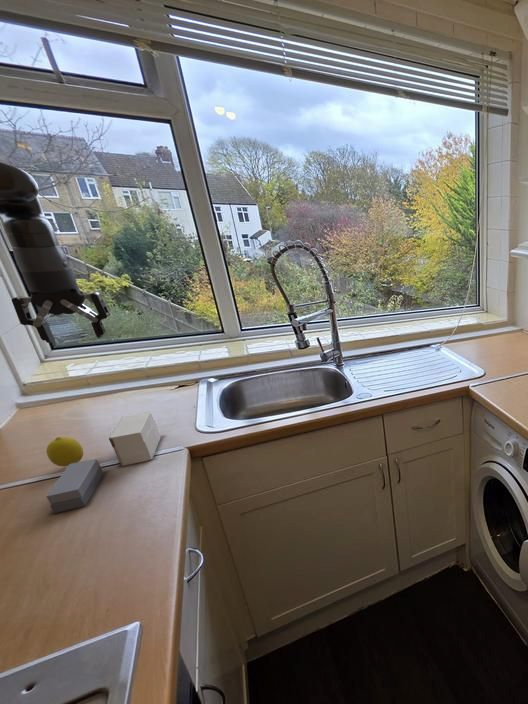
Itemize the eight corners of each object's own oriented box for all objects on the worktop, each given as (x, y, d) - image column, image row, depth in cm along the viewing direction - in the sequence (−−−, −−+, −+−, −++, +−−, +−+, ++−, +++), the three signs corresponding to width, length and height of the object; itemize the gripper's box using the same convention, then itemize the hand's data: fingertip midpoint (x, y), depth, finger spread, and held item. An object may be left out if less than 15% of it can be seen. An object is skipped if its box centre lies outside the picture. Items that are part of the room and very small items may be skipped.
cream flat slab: (112, 447, 94) (108, 438, 93) (125, 425, 104) (122, 416, 103) (144, 441, 97) (140, 432, 96) (154, 420, 106) (150, 411, 105)
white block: (121, 466, 96) (113, 447, 94) (133, 442, 106) (126, 425, 104) (151, 459, 99) (144, 441, 97) (160, 437, 108) (154, 420, 106)
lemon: (82, 457, 99) (68, 429, 96) (93, 463, 97) (79, 434, 94) (51, 469, 95) (35, 439, 91) (61, 476, 92) (46, 446, 89)
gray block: (54, 513, 81) (45, 497, 80) (76, 478, 92) (69, 463, 90) (85, 506, 84) (77, 490, 82) (103, 472, 94) (96, 458, 92)
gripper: (95, 264, 94) (120, 331, 101) (6, 267, 88) (39, 339, 94) (84, 268, 89) (111, 339, 95) (-12, 272, 82) (25, 348, 88)
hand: (76, 339), depth 95 cm, fingers open, 8 cm apart
